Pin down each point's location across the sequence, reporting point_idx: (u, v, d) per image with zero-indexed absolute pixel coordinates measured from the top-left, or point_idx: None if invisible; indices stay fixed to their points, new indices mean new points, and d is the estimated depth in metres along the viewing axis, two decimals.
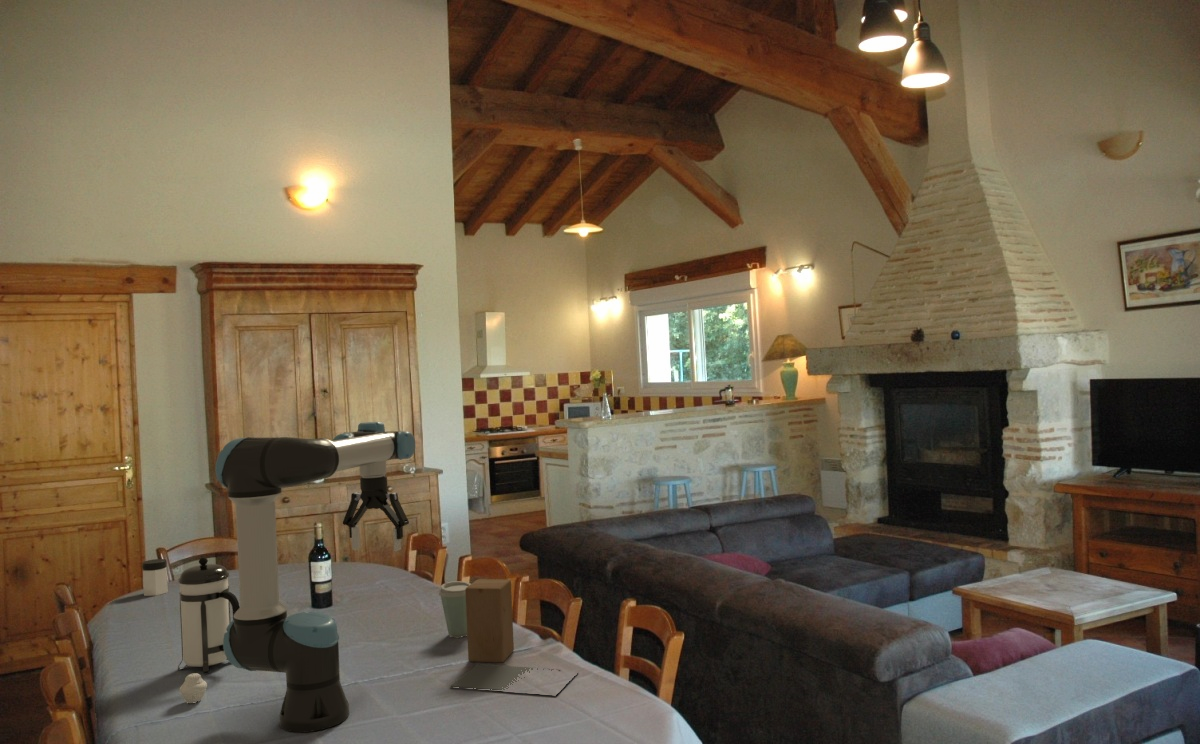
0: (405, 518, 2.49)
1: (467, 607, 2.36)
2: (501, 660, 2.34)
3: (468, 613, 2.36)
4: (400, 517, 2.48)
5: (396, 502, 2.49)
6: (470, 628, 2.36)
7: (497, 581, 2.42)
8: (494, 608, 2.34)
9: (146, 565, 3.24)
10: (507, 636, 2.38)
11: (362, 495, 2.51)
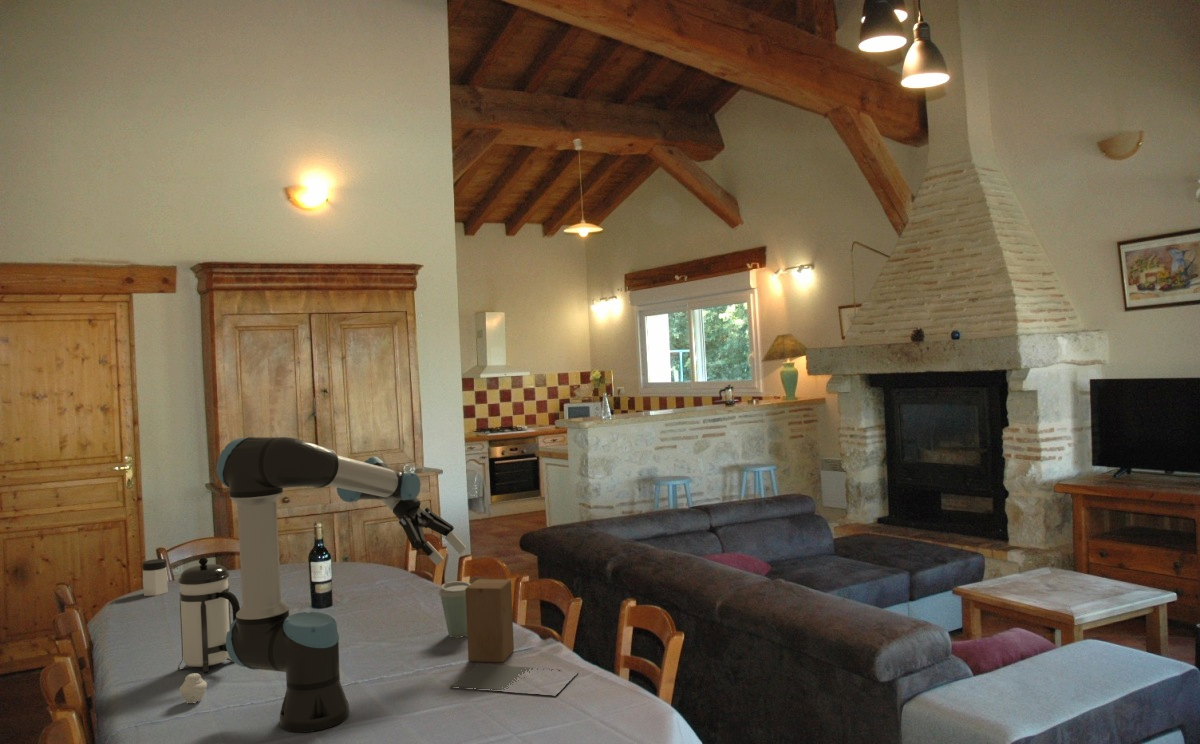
0: (413, 539, 2.36)
1: (467, 607, 2.36)
2: (501, 660, 2.34)
3: (468, 613, 2.36)
4: None
5: (405, 526, 2.39)
6: (470, 628, 2.36)
7: (497, 581, 2.42)
8: (494, 608, 2.34)
9: (146, 565, 3.24)
10: (507, 636, 2.38)
11: None
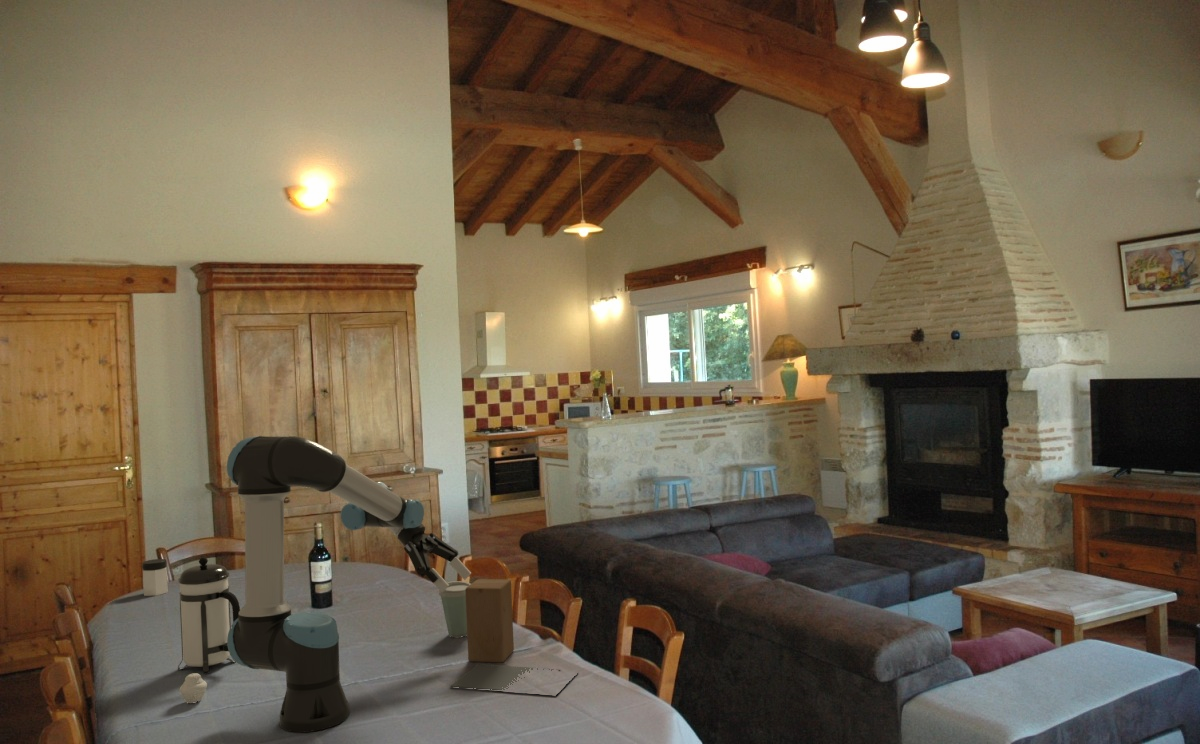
0: (419, 565, 2.35)
1: (467, 607, 2.36)
2: (501, 660, 2.34)
3: (468, 613, 2.36)
4: None
5: (410, 553, 2.39)
6: (470, 628, 2.36)
7: (497, 581, 2.42)
8: (494, 608, 2.34)
9: (146, 565, 3.24)
10: (507, 636, 2.38)
11: None
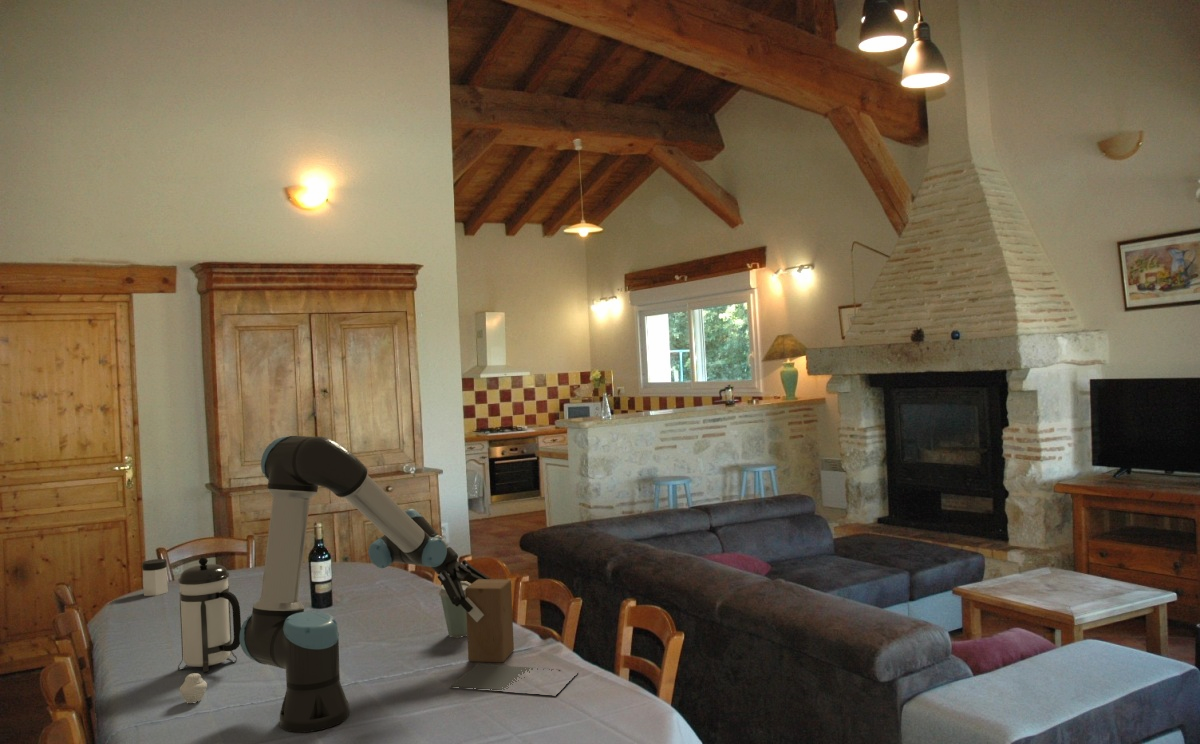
0: (453, 595, 2.32)
1: None
2: (501, 660, 2.34)
3: (468, 613, 2.36)
4: None
5: (444, 582, 2.36)
6: (470, 628, 2.36)
7: (497, 581, 2.42)
8: (494, 608, 2.34)
9: (146, 565, 3.24)
10: (507, 636, 2.38)
11: None
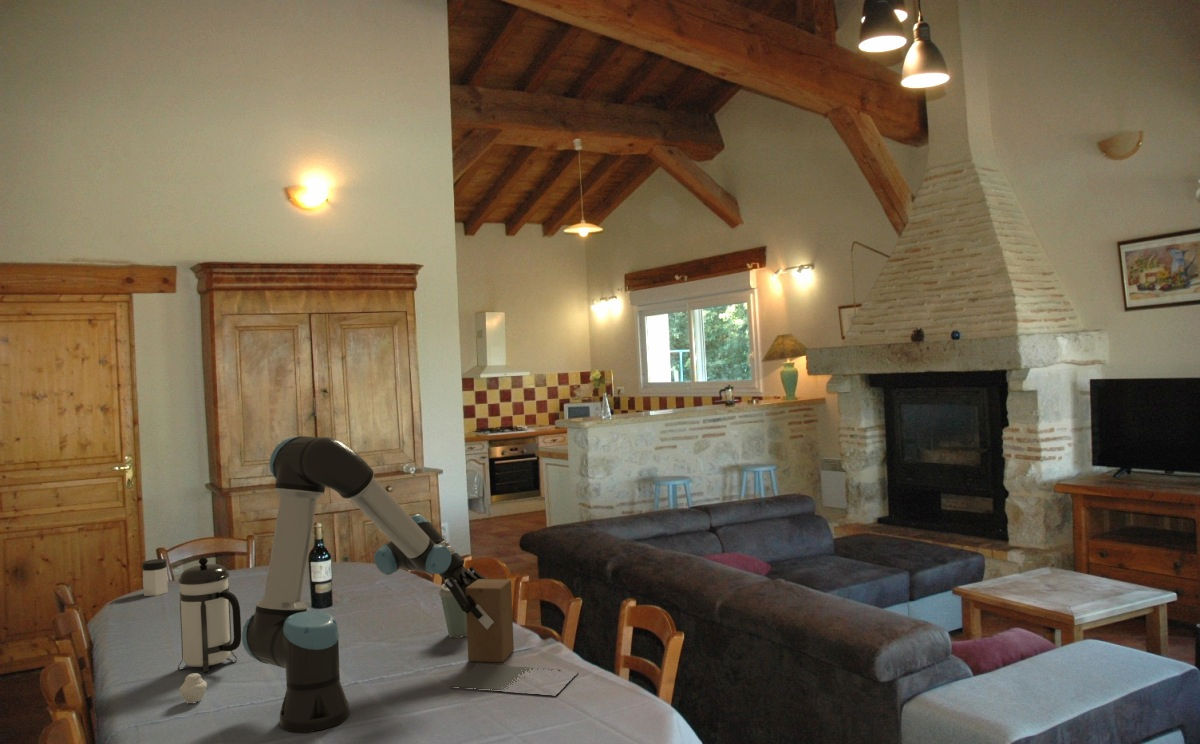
0: (463, 602, 2.33)
1: None
2: (501, 660, 2.34)
3: (468, 613, 2.36)
4: None
5: (452, 589, 2.35)
6: (470, 628, 2.36)
7: (497, 581, 2.42)
8: (494, 608, 2.34)
9: (146, 565, 3.24)
10: (507, 636, 2.38)
11: None
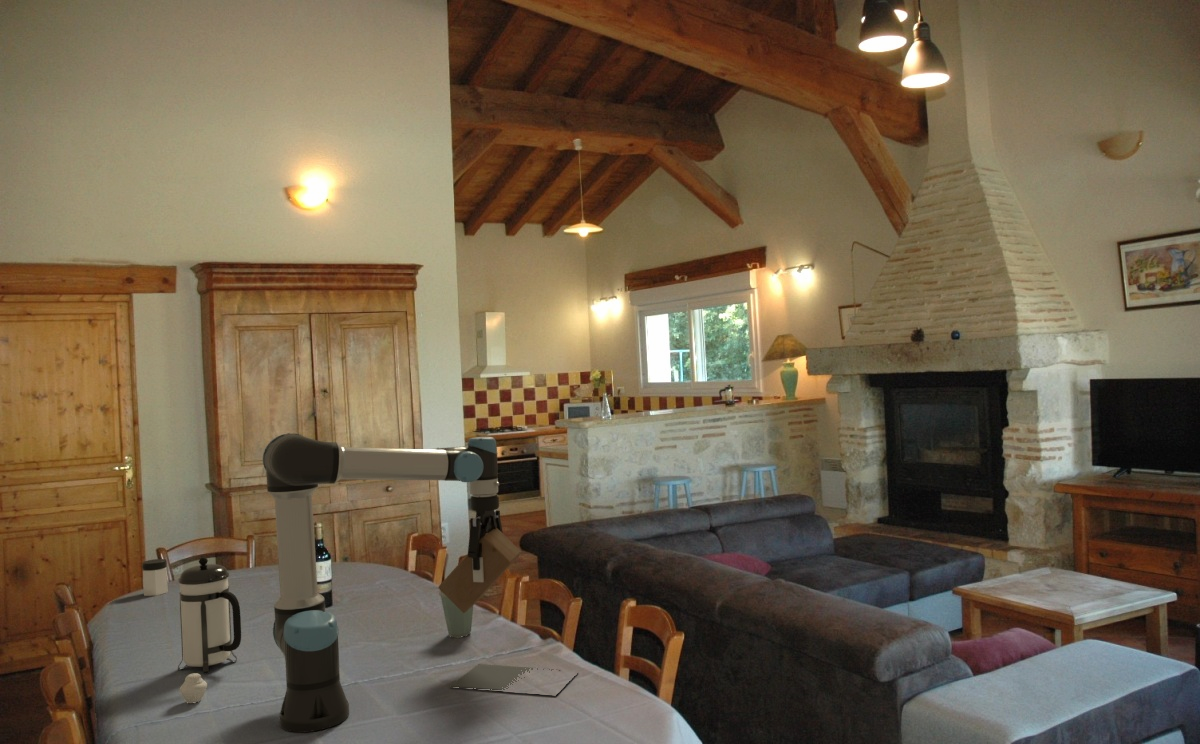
0: (473, 549, 2.27)
1: None
2: (463, 611, 2.33)
3: None
4: None
5: (473, 529, 2.29)
6: (461, 567, 2.32)
7: (511, 546, 2.36)
8: (492, 572, 2.30)
9: (146, 565, 3.24)
10: (482, 594, 2.35)
11: None
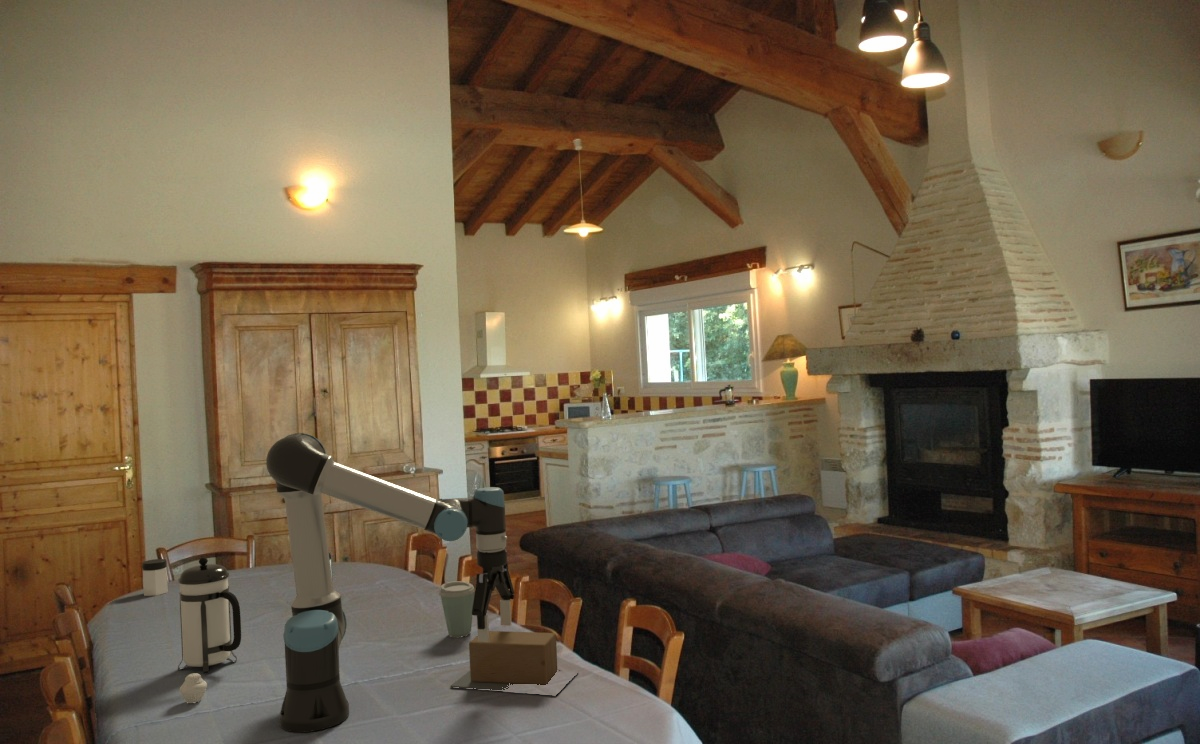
0: (478, 607, 2.12)
1: (524, 646, 2.15)
2: (472, 680, 2.19)
3: (518, 647, 2.16)
4: None
5: (479, 586, 2.15)
6: (503, 648, 2.17)
7: (554, 663, 2.21)
8: (525, 677, 2.15)
9: (146, 565, 3.24)
10: None
11: None
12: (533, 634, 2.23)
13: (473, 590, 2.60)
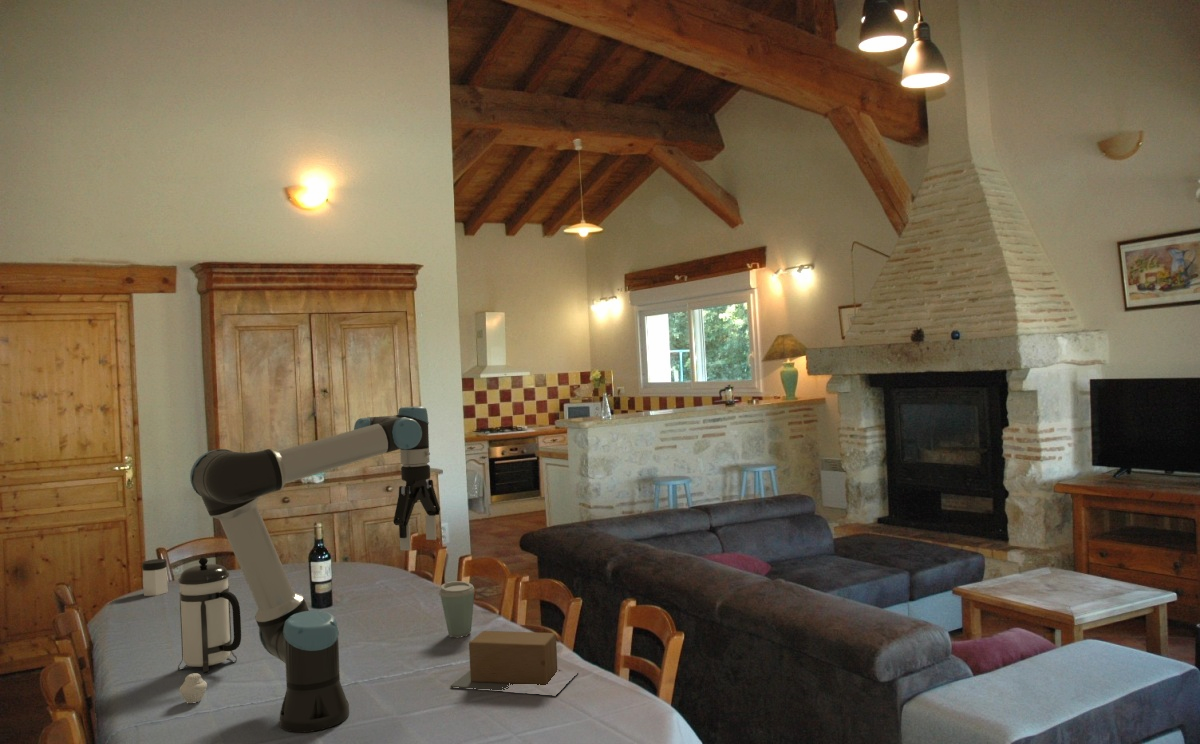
0: (399, 516, 2.23)
1: (524, 646, 2.15)
2: (472, 680, 2.19)
3: (518, 647, 2.16)
4: None
5: (401, 497, 2.26)
6: (503, 648, 2.17)
7: (554, 663, 2.21)
8: (525, 677, 2.15)
9: (146, 565, 3.24)
10: None
11: None
12: (533, 634, 2.23)
13: (473, 590, 2.60)
